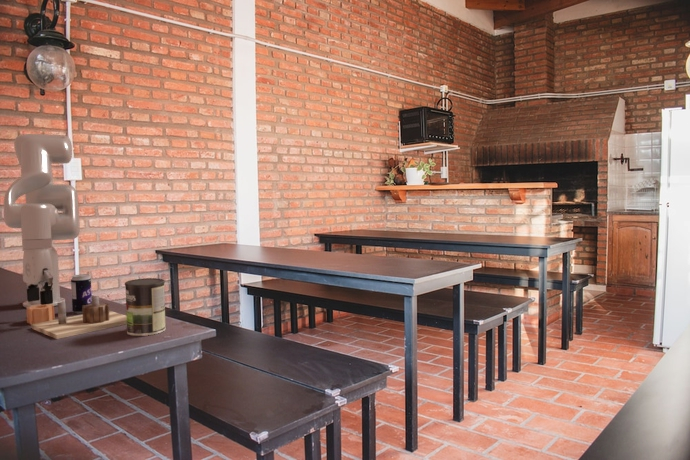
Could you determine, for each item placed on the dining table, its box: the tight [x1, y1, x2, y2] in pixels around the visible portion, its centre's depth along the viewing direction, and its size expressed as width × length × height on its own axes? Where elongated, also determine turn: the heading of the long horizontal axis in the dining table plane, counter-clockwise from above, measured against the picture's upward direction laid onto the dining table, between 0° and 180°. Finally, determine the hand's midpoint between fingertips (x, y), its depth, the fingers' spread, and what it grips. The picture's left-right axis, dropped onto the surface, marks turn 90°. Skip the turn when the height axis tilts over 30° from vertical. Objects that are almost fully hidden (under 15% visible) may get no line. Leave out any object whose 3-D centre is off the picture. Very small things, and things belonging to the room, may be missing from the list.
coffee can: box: [124, 277, 167, 337], centre depth 142 cm, size 10×10×14 cm
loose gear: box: [26, 304, 56, 325], centre depth 154 cm, size 7×7×4 cm
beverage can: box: [70, 273, 93, 315], centre depth 165 cm, size 6×6×12 cm
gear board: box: [30, 295, 127, 340], centre depth 149 cm, size 17×22×8 cm
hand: (40, 302), depth 152 cm, fingers open, 9 cm apart
